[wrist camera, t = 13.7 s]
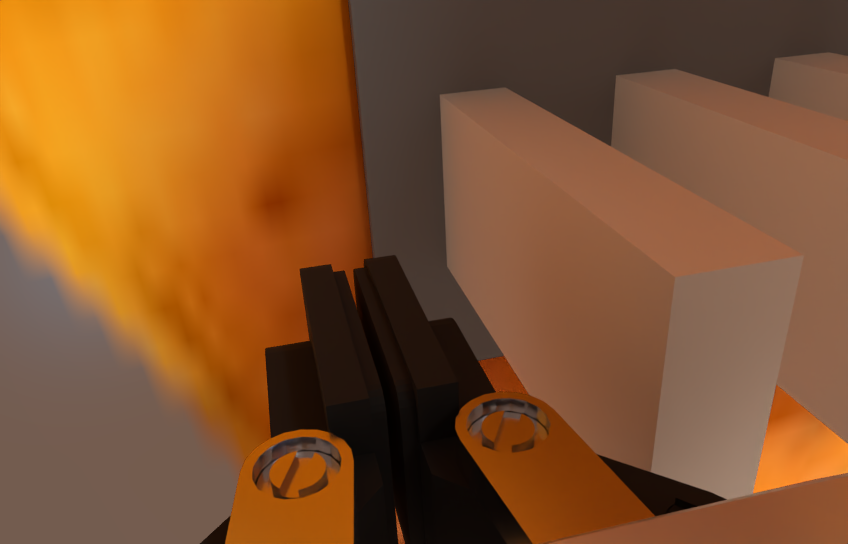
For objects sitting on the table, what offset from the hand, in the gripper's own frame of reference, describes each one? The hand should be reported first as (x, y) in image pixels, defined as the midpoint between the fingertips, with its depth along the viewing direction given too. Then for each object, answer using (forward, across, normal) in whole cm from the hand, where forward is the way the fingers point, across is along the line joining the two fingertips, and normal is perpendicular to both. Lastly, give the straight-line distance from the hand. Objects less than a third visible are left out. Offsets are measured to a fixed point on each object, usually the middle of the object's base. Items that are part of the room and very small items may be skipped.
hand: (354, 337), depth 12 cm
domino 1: (+7, -4, 0) cm, 8 cm away
